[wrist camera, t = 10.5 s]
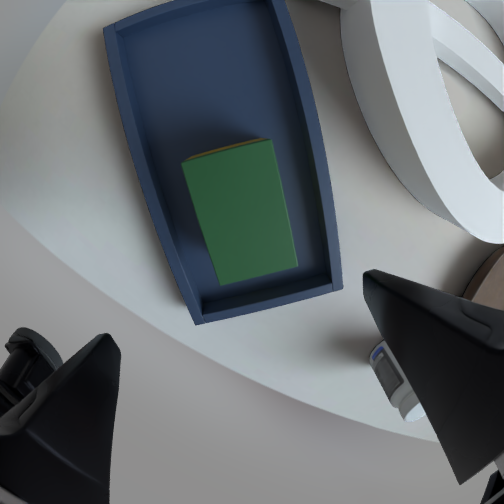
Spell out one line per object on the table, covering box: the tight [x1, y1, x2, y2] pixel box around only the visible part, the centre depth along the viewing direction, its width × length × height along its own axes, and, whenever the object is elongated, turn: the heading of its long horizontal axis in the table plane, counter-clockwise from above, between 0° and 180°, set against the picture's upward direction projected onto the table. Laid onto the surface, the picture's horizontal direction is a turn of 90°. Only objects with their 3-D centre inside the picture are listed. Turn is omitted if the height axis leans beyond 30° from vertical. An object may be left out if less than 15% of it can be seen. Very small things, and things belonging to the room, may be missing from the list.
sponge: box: [181, 138, 298, 286], centre depth 16 cm, size 4×7×4 cm, turn 14°
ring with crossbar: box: [319, 0, 504, 244], centre depth 12 cm, size 28×28×5 cm
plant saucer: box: [462, 246, 504, 310], centre depth 23 cm, size 18×18×3 cm
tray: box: [103, 0, 343, 325], centre depth 16 cm, size 11×22×2 cm, turn 14°
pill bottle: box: [370, 340, 426, 422], centre depth 22 cm, size 5×5×8 cm
